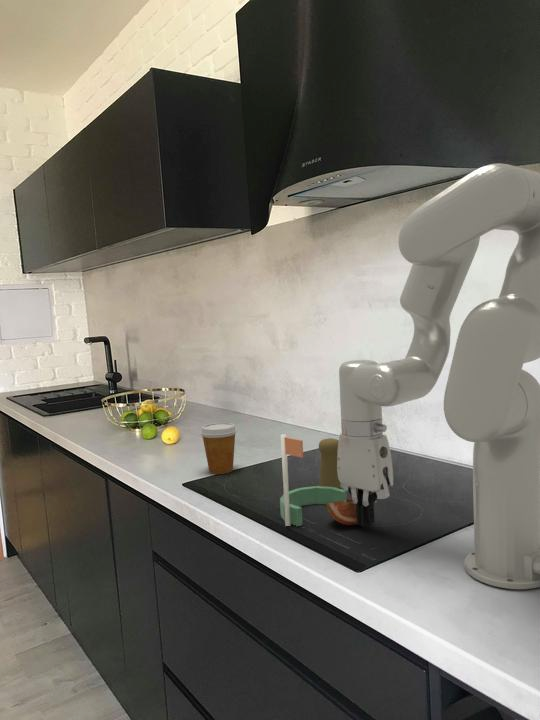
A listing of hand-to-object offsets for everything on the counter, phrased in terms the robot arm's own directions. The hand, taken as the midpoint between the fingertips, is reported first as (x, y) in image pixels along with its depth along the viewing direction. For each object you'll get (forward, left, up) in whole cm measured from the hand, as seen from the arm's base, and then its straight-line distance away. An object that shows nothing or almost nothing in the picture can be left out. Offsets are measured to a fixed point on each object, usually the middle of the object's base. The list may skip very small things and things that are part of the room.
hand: (365, 523), depth 110 cm
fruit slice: (+5, 0, -1) cm, 5 cm away
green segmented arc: (+14, +1, -1) cm, 14 cm away
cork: (+23, -16, -1) cm, 28 cm away
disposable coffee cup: (+54, -7, -1) cm, 55 cm away
